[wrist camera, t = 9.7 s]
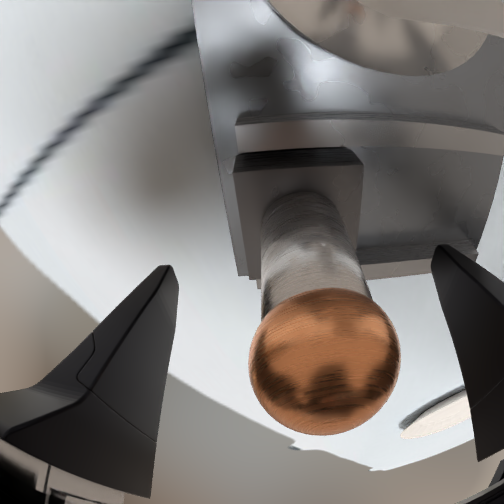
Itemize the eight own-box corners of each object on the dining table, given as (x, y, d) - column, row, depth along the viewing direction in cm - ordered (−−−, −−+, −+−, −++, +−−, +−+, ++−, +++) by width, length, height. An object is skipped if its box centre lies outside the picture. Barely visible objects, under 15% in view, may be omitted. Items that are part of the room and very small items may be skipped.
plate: (521, 366, 31) (525, 376, 29) (450, 420, 44) (453, 429, 42) (456, 376, 29) (461, 391, 27) (375, 433, 41) (377, 444, 40)
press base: (472, -75, 3) (502, -82, 1) (463, 239, 15) (483, 268, 13) (184, -111, 4) (169, -136, 2) (240, 257, 16) (237, 293, 14)
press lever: (350, 148, 10) (478, 356, 3) (344, 247, 13) (396, 440, 6) (236, 155, 11) (197, 393, 4) (250, 254, 14) (243, 457, 7)
